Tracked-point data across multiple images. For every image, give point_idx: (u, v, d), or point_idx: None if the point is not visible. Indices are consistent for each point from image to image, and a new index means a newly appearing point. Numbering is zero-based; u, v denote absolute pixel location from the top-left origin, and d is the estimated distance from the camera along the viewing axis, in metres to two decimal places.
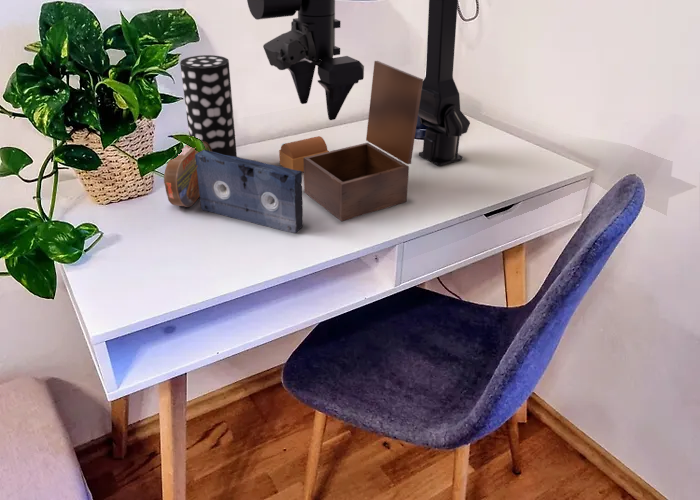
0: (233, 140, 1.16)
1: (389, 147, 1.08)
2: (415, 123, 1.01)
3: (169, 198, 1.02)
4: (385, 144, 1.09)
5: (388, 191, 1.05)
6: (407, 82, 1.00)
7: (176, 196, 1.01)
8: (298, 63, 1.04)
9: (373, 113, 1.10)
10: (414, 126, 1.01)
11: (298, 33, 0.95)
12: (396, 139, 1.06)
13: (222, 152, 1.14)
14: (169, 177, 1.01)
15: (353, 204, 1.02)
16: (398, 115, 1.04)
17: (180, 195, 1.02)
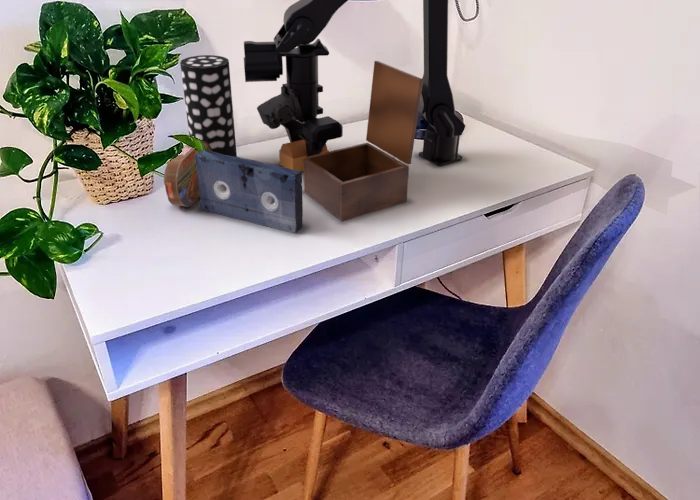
0: (233, 140, 1.16)
1: (389, 147, 1.08)
2: (415, 123, 1.01)
3: (169, 198, 1.02)
4: (385, 144, 1.09)
5: (388, 191, 1.05)
6: (407, 82, 1.00)
7: (176, 196, 1.01)
8: (292, 121, 1.19)
9: (373, 113, 1.10)
10: (414, 126, 1.01)
11: (287, 97, 1.12)
12: (396, 139, 1.06)
13: (222, 152, 1.14)
14: (169, 177, 1.01)
15: (353, 204, 1.02)
16: (398, 115, 1.04)
17: (180, 195, 1.02)
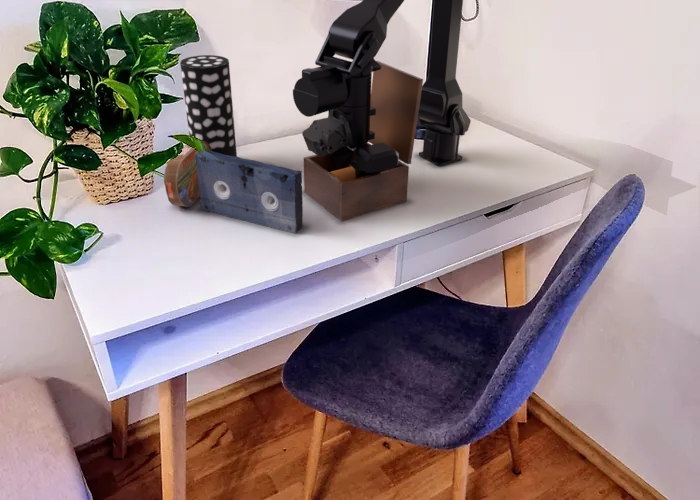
0: (233, 140, 1.16)
1: None
2: (415, 123, 1.01)
3: (169, 198, 1.02)
4: None
5: (388, 191, 1.05)
6: (407, 82, 1.00)
7: (176, 196, 1.01)
8: None
9: None
10: (414, 126, 1.01)
11: (336, 121, 1.00)
12: (396, 139, 1.06)
13: (222, 152, 1.14)
14: (169, 177, 1.01)
15: (353, 204, 1.02)
16: (398, 115, 1.04)
17: (180, 195, 1.02)
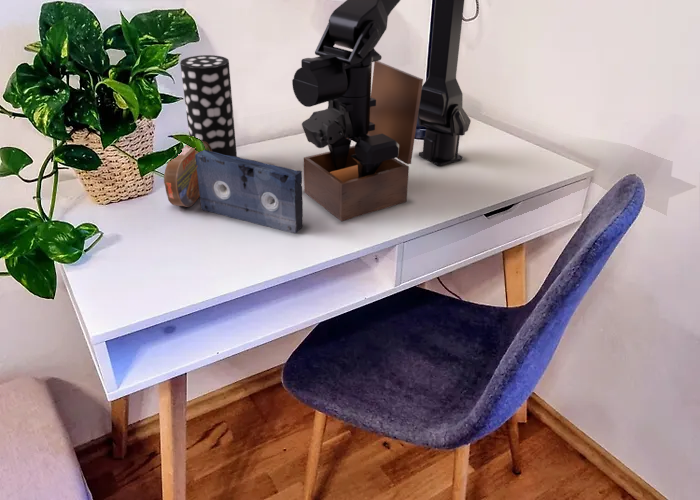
0: (233, 140, 1.16)
1: None
2: (415, 123, 1.01)
3: (169, 198, 1.02)
4: None
5: (388, 191, 1.05)
6: (407, 82, 1.00)
7: (176, 196, 1.01)
8: None
9: (373, 113, 1.10)
10: (414, 126, 1.01)
11: (335, 112, 0.99)
12: (396, 139, 1.06)
13: (222, 152, 1.14)
14: (169, 177, 1.01)
15: (353, 204, 1.02)
16: (398, 115, 1.04)
17: (180, 195, 1.02)
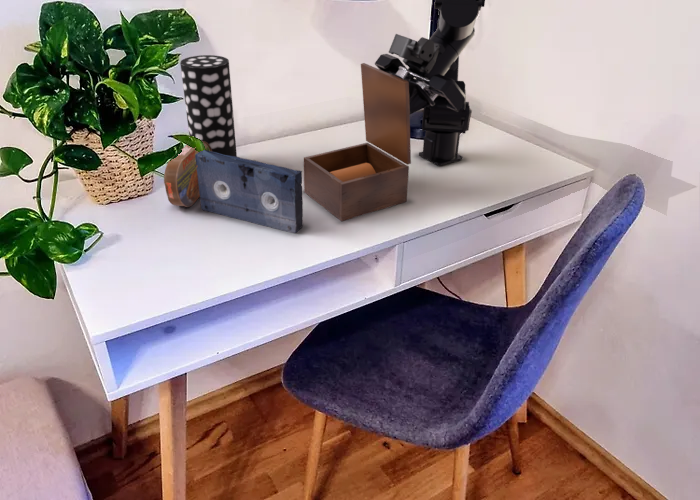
0: (233, 140, 1.16)
1: (388, 148, 1.08)
2: (408, 125, 1.01)
3: (169, 198, 1.02)
4: (384, 145, 1.09)
5: (388, 191, 1.05)
6: (394, 85, 0.99)
7: (176, 196, 1.01)
8: None
9: (368, 115, 1.09)
10: (408, 128, 1.01)
11: None
12: (393, 140, 1.05)
13: (222, 152, 1.14)
14: (169, 177, 1.01)
15: (353, 204, 1.02)
16: (391, 117, 1.03)
17: (180, 195, 1.02)
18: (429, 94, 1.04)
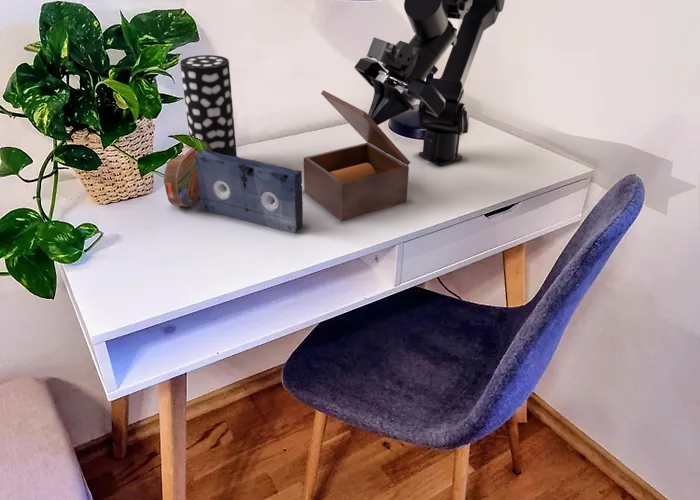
0: (233, 140, 1.16)
1: (385, 151, 1.08)
2: (388, 140, 1.00)
3: (169, 198, 1.02)
4: (381, 148, 1.09)
5: (388, 191, 1.05)
6: (356, 114, 0.98)
7: (176, 196, 1.01)
8: None
9: (354, 126, 1.09)
10: (389, 142, 1.00)
11: None
12: (385, 148, 1.05)
13: (222, 152, 1.14)
14: (169, 177, 1.01)
15: (353, 204, 1.02)
16: (371, 133, 1.03)
17: (180, 195, 1.02)
18: (408, 98, 1.02)
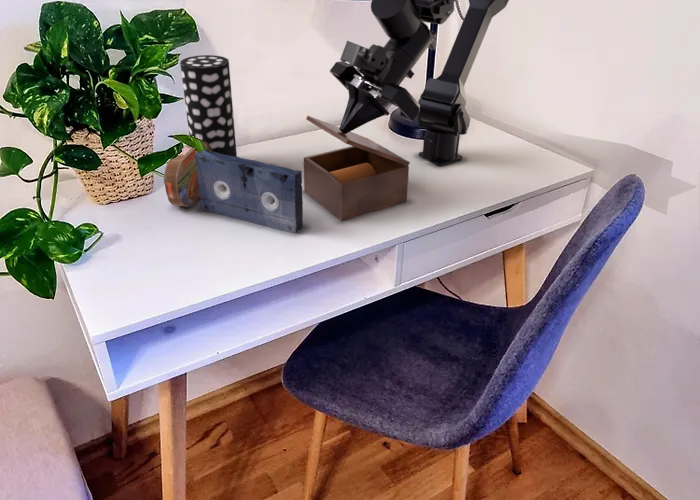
0: (233, 140, 1.16)
1: None
2: (379, 153, 1.00)
3: (169, 198, 1.02)
4: None
5: (388, 191, 1.05)
6: None
7: (176, 196, 1.01)
8: None
9: None
10: (381, 154, 1.00)
11: None
12: None
13: (222, 152, 1.14)
14: (169, 177, 1.01)
15: (353, 204, 1.02)
16: None
17: (180, 195, 1.02)
18: (382, 103, 0.99)
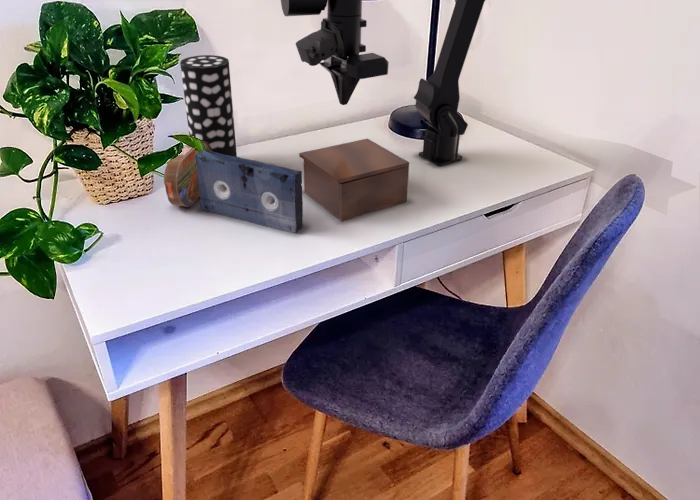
0: (233, 140, 1.16)
1: None
2: (374, 172, 1.01)
3: (169, 198, 1.02)
4: None
5: (388, 191, 1.05)
6: None
7: (176, 196, 1.01)
8: (338, 65, 1.09)
9: None
10: (377, 172, 1.02)
11: (328, 32, 1.03)
12: None
13: (222, 152, 1.14)
14: (169, 177, 1.01)
15: (353, 204, 1.02)
16: None
17: (180, 195, 1.02)
18: None
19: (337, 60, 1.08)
